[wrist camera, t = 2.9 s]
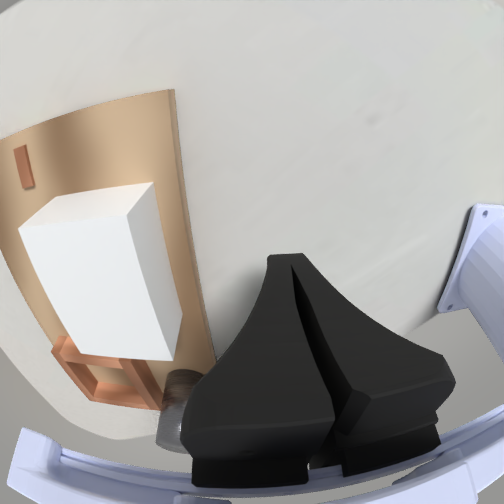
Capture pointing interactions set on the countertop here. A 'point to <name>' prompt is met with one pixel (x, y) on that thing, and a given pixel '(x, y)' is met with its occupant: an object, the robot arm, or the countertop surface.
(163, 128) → the board
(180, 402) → the grey metal cylinder
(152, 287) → the plain white cuboid
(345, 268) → the countertop surface
